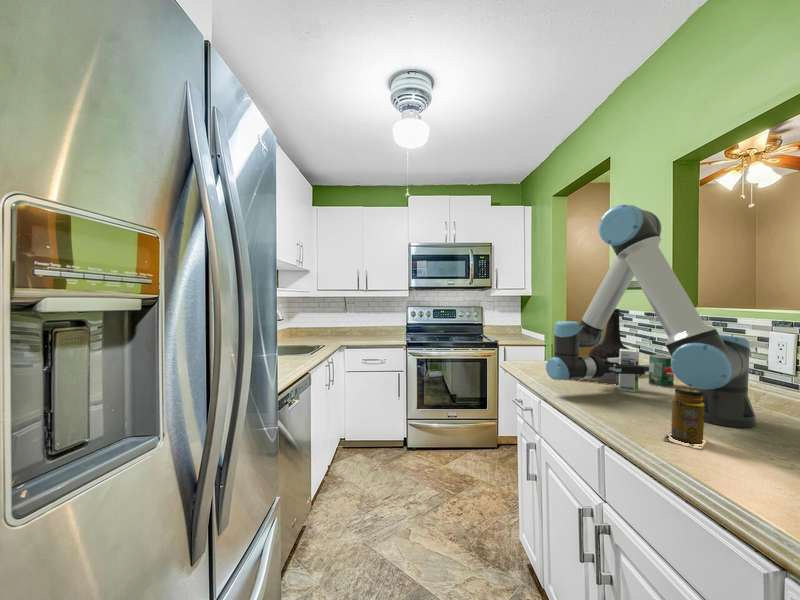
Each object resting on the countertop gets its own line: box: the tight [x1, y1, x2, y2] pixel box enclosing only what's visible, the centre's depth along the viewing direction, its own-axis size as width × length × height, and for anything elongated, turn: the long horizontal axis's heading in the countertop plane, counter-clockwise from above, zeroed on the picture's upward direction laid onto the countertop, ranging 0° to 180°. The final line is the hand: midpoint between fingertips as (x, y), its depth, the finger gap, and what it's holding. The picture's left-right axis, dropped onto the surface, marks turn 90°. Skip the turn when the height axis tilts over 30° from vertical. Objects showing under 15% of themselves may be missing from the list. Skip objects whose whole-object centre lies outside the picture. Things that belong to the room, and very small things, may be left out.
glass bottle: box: [588, 308, 630, 366], centre depth 167 cm, size 18×18×28 cm
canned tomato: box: [648, 354, 675, 389], centre depth 146 cm, size 8×8×11 cm
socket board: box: [572, 366, 619, 386], centre depth 155 cm, size 15×25×5 cm, turn 63°
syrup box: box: [618, 348, 640, 393], centre depth 137 cm, size 6×6×14 cm
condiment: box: [662, 386, 708, 447], centre depth 90 cm, size 7×8×12 cm
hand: (636, 364), depth 138 cm, fingers open, 12 cm apart
